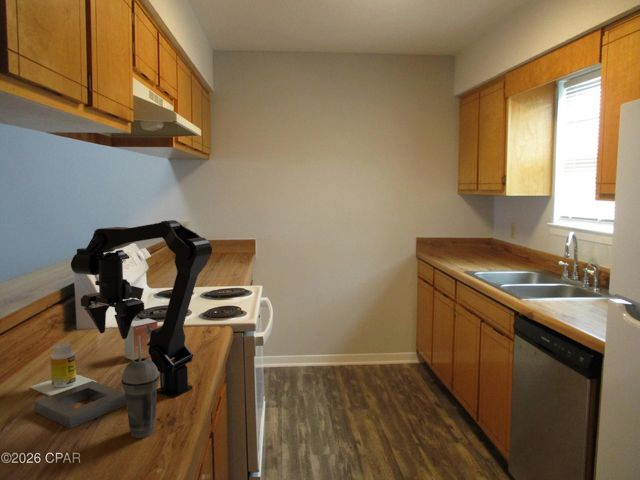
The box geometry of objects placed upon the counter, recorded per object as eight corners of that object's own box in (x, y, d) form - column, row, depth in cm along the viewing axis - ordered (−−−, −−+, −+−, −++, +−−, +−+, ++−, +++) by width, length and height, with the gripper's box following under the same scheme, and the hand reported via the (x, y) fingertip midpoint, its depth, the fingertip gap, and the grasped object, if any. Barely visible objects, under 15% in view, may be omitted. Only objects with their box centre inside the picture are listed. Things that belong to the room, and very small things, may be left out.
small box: (134, 361, 141) (132, 326, 140) (124, 357, 144) (123, 323, 143) (158, 354, 147) (157, 320, 146) (149, 350, 150) (147, 317, 149)
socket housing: (128, 403, 113) (128, 393, 113) (70, 428, 101) (70, 417, 101) (92, 390, 120) (92, 380, 120) (34, 412, 109) (34, 401, 108)
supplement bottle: (71, 388, 121) (69, 348, 120) (47, 389, 120) (45, 348, 119) (79, 379, 126) (78, 341, 125) (57, 380, 126) (55, 341, 125)
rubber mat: (97, 382, 125) (97, 381, 125) (54, 398, 116) (54, 396, 116) (72, 374, 131) (72, 372, 131) (30, 388, 122) (30, 386, 122)
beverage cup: (124, 444, 95) (120, 345, 93) (122, 428, 101) (119, 335, 99) (162, 437, 98) (159, 340, 96) (159, 421, 104) (156, 331, 102)
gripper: (160, 275, 126) (162, 333, 127) (116, 268, 136) (118, 323, 137) (123, 282, 116) (125, 345, 118) (78, 274, 126) (81, 333, 128)
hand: (113, 335), depth 126 cm, fingers open, 9 cm apart
